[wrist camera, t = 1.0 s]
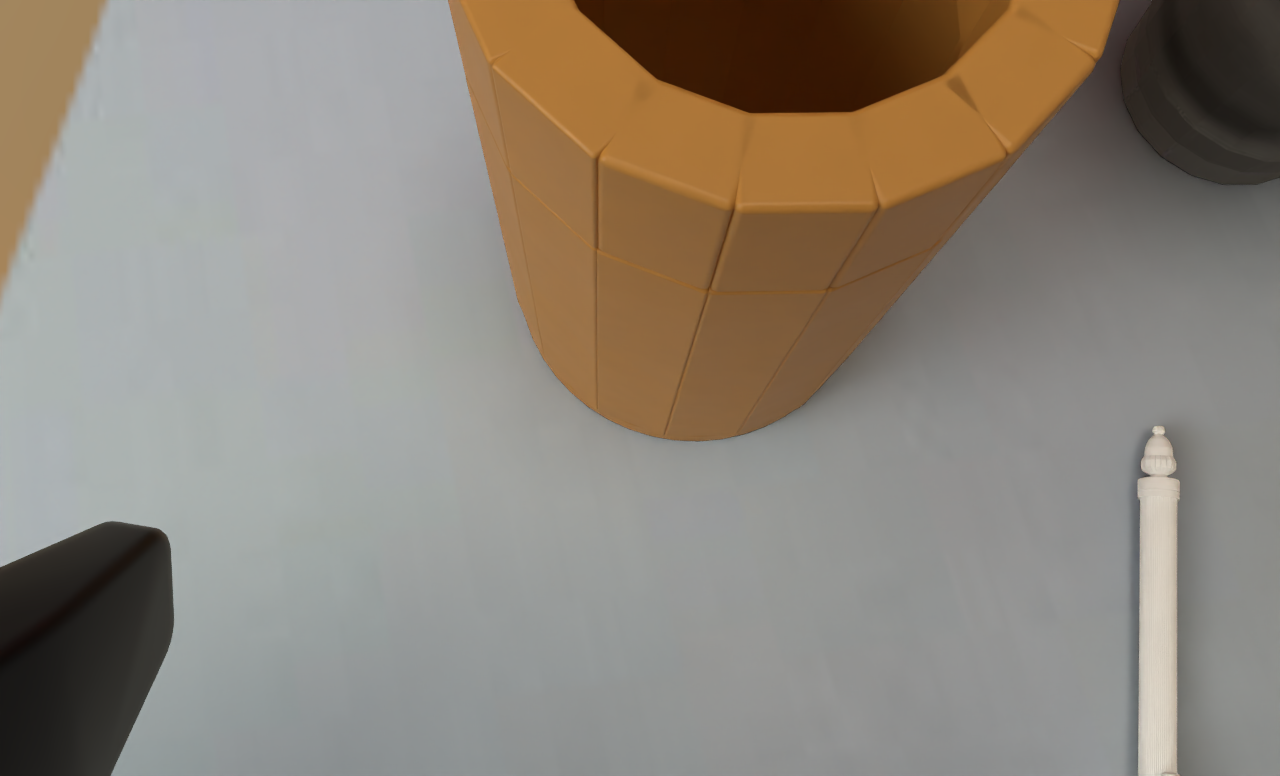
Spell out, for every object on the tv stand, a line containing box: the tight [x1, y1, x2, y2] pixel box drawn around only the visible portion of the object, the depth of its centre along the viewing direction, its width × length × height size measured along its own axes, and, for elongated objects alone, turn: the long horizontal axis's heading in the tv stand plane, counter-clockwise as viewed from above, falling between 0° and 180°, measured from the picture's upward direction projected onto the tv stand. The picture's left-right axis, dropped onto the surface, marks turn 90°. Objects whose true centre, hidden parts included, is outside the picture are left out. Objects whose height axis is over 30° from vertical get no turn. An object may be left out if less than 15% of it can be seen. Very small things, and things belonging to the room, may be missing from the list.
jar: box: [448, 0, 1120, 441], centre depth 17 cm, size 7×7×12 cm
